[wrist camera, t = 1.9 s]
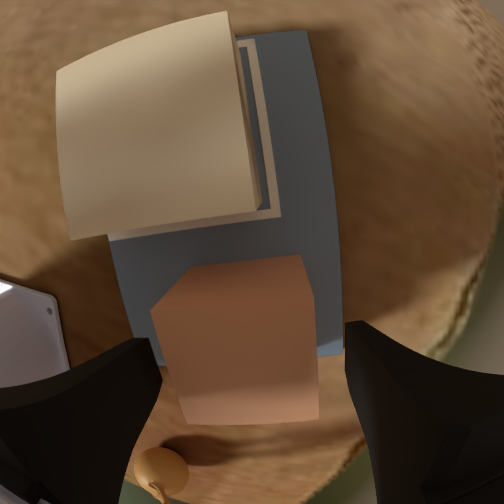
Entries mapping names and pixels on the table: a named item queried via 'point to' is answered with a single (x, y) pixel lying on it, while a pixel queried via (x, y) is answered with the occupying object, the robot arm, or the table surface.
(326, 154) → the mat
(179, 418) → the table surface
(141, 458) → the figurine
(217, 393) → the terracotta cube
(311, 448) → the table surface
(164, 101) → the maple base block
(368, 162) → the table surface
